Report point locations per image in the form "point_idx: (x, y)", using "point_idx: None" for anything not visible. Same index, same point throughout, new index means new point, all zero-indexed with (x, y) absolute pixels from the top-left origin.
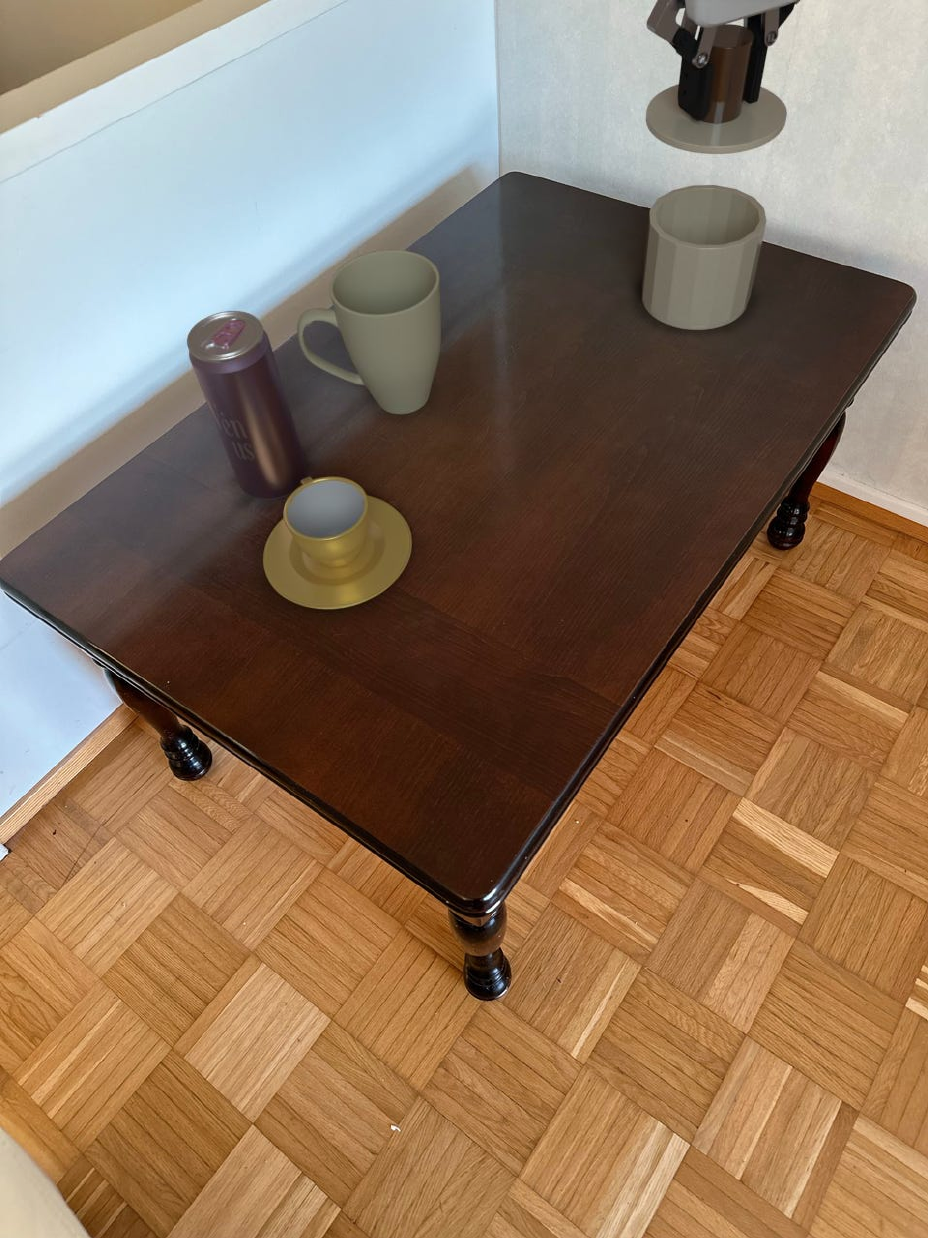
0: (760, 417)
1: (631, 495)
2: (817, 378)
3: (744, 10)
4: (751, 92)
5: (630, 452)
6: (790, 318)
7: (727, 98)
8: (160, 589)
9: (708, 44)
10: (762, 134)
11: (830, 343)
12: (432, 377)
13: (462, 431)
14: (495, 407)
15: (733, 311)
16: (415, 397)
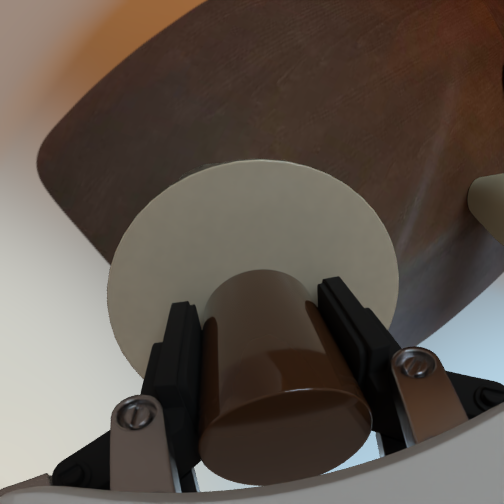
0: (244, 29)
1: (385, 12)
2: (164, 58)
3: (412, 483)
4: (191, 315)
5: (371, 46)
6: (141, 151)
7: (281, 294)
8: None
9: (422, 393)
10: (210, 183)
11: (124, 102)
12: (486, 182)
13: (464, 139)
14: (440, 151)
15: (201, 166)
16: (491, 175)
